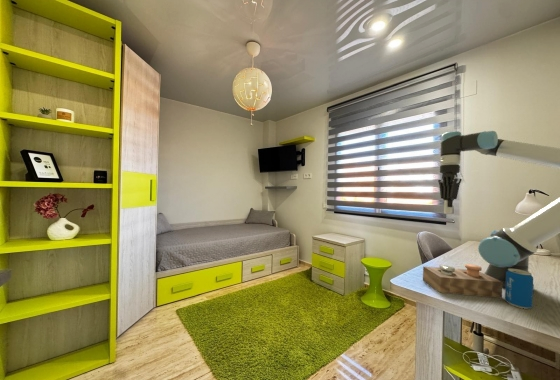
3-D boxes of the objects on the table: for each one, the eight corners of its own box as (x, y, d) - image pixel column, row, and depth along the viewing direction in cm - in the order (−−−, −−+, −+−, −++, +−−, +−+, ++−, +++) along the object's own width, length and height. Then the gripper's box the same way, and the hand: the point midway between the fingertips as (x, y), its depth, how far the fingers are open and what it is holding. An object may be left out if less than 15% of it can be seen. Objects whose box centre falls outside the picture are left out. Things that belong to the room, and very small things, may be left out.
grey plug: (448, 282, 91) (449, 265, 91) (457, 288, 86) (457, 269, 86) (436, 281, 92) (436, 264, 92) (443, 286, 87) (444, 268, 87)
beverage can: (499, 299, 80) (501, 267, 80) (517, 300, 79) (519, 268, 79) (518, 309, 73) (520, 274, 73) (538, 310, 73) (539, 275, 73)
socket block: (476, 284, 93) (476, 270, 93) (501, 297, 81) (502, 282, 81) (422, 279, 95) (423, 266, 95) (440, 292, 83) (440, 277, 83)
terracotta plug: (474, 281, 90) (474, 264, 90) (484, 287, 85) (485, 268, 85) (461, 280, 91) (462, 263, 91) (470, 285, 86) (471, 267, 86)
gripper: (433, 166, 110) (431, 212, 110) (450, 162, 97) (448, 214, 97) (448, 166, 109) (446, 212, 109) (468, 163, 96) (466, 215, 96)
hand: (447, 213), depth 103 cm, fingers closed
